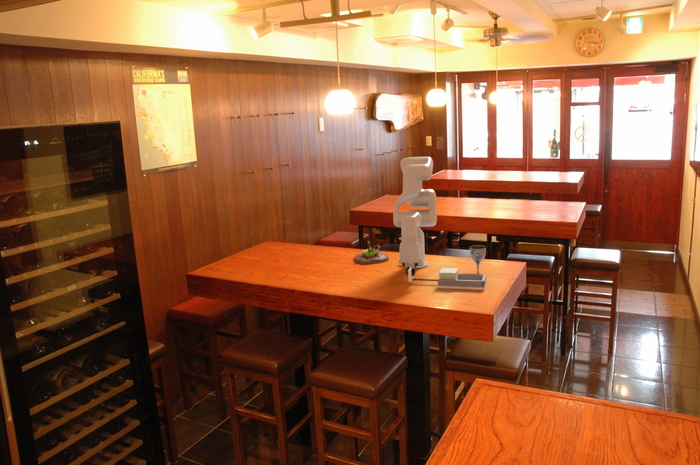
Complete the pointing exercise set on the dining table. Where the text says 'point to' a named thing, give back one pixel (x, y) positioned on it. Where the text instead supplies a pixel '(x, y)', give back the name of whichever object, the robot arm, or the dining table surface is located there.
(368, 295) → the dining table surface
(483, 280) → the lane tray
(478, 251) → the wine glass
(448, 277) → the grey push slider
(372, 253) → the plant
